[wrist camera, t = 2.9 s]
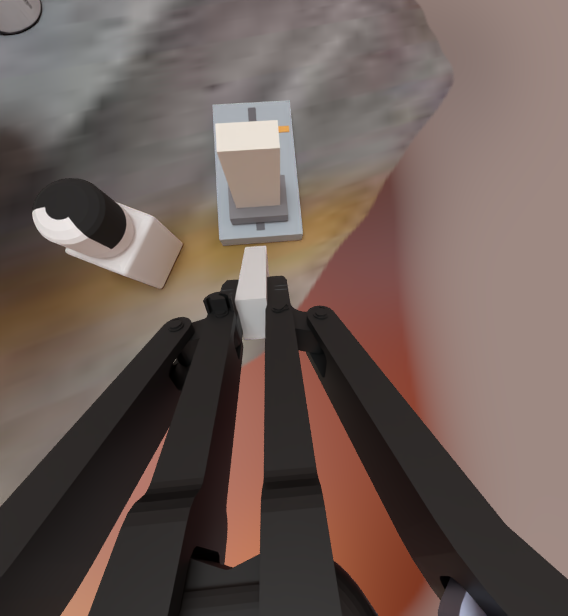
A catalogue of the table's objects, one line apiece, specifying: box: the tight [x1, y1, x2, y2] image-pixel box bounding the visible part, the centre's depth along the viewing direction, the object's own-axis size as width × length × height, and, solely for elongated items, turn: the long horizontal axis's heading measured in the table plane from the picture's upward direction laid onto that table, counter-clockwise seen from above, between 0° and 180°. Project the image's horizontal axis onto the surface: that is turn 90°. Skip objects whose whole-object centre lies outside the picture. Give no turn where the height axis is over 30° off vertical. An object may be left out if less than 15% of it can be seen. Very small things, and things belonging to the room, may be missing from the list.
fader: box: [215, 120, 288, 225], centre depth 25 cm, size 8×6×10 cm
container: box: [32, 178, 183, 289], centre depth 25 cm, size 8×8×13 cm
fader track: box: [213, 101, 303, 246], centre depth 32 cm, size 12×22×2 cm, turn 5°
